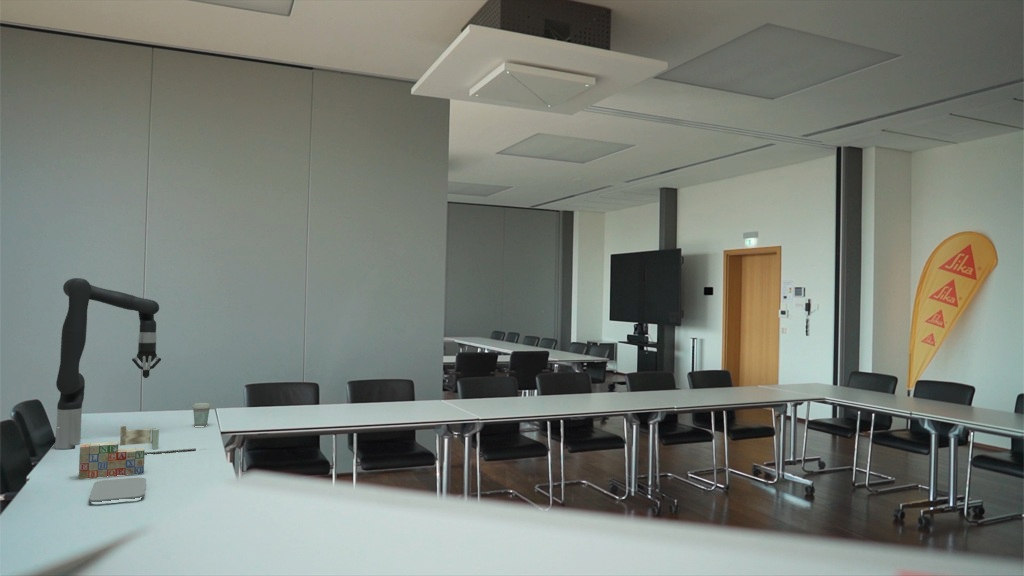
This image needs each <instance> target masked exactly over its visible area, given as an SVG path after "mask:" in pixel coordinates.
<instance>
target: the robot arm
mask: <svg viewBox="0 0 1024 576" xmlns="http://www.w3.org/2000/svg"><path fill="white" fill-rule="evenodd" d="M62 290H63V293H64V294H65V295H66V296H67V297H68V308H67V313H66V316H65V319H64V321H63V324H62V327H61V328H62V329H61V338H60V340H61V341H60V360H59V361H60V362H59V367H58V372H57V377H56V382H55V383H56V384H55V385H56V386H55V387H56V389H57V391H58V392H60V396H59V400H58V402H57V406H56V407H57V408H56V409H57V411H56V414H57V415H56V429H55V446H54V449H55V450H70V449H75V448H76V446H79V445H81V443H82V442H81V439H82V438H81V435H82V412H83V409H82V408H83V403H84V399H85V398H84V397H85V388H86V387H85V384H86V383H85V378H84V376H83V375H82V373H80V361H81V358H82V354H83V352H84V350H85V346H86V342H87V341H86V340H87V331H88V330H87V327H88V326H87V325H88V308H89V307H88V306H89V302H90V300H91V301H95V302H99V303H103V304H106V305H108V306H109V305H110V306H112V307H113V306H114V307H116V308H120V309H124V310H128V311H136V312H137V313H138V318H139V334H138V340H137V341H138V342H137V343H138V347H137V354H136V356H135V357H132V358H131V360H132V362H133V363H134V365H135V366H137V368H138V369H139V370H142V377H143V379H149V378H148V377H150V372H151V371H150V370H153V369H154V368H155V367H156V366H157V365H158V364H159V363H160V362H161V360H162V358H161V357H159V356H158V354H157V322H156V320H155V316H154V315H156V314H157V313H158V312H159V311H160V305H159V303H158V302H157V301H155V300H153V299H149V298H143V297H138V296H135V295H134V294H133V295H132V294H130V293H125V292H121V291H117V290H111V289H107V288H103V287H102V288H101V287H98V286H96V285H92V284H91V283H90V282H89V281H88V280H86V279H85V278H78V277H73V278H71V279H68V280H67V281H65V282H64V284H63V286H62ZM138 360H139V361H140V362H141V363H142V364H140V363H139V362H138ZM154 360H155V361H154ZM152 363H153V364H152ZM151 364H152V365H151Z"/></svg>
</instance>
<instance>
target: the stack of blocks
mask: <svg viewBox="0 0 1024 576" xmlns="http://www.w3.org/2000/svg"><path fill="white" fill-rule="evenodd" d="M145 448H146V447H143V446H142V447H129V448H128V447H127V448H126V447H125V448H119V441H118V440H117V441H116V440H115V441H103V442H87V443H80V447H79V456H78V457H79V460H78V461H79V462H78V463H79V464H78V480H86V479H85V478H90V479H98V478H97V477H103V478H108V477H107V476H114V477H118V476H117V475H125V476H128V475H127V474H138V475H141V474H140V473H143V474H144V473H145V472H144V471H145V455H144V453H145V452H146V451H145Z"/></svg>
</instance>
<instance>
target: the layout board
mask: <svg viewBox="0 0 1024 576" xmlns="http://www.w3.org/2000/svg"><path fill="white" fill-rule="evenodd" d="M196 451H197V449H196V448H190V449H189V448H188V449H187V448H183V449H178V450H177V449H172V450H170V449H169V450H165V451H164V450H160V451H153V452H152V451H148V452H147V451H144V456H148V455H147V454H153V455H163V454H162V453H165V454H173V453H174V454H176V452H178V453H186V452H196Z"/></svg>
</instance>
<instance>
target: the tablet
mask: <svg viewBox="0 0 1024 576" xmlns="http://www.w3.org/2000/svg"><path fill="white" fill-rule="evenodd" d="M146 487H147V478H146V477H129V478H127V477H126V478H116V479H114V478H113V479H104V480H98V481H95V482H93V486H92V488H91V491H90V494H89V497H88V501H89V502H90V503H91V502H102V501H111V500H119V499H135V498H140V497H142V498H143V497H145V496H146Z"/></svg>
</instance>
